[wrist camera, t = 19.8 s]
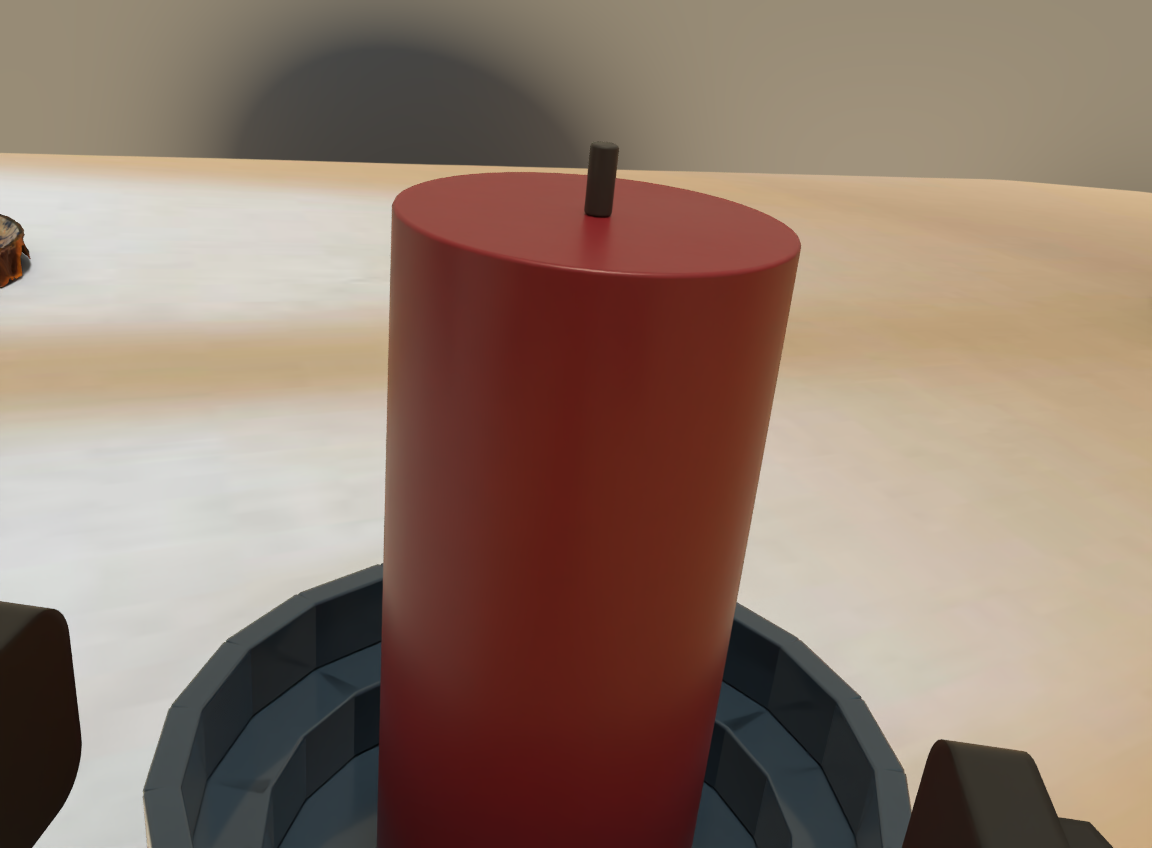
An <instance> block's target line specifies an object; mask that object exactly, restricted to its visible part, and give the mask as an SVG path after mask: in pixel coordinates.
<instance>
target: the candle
mask: <svg viewBox="0 0 1152 848" xmlns="http://www.w3.org/2000/svg"><path fill="white" fill-rule="evenodd" d="M618 152H619V147H618V146H617V145H616V144H614V143H609V142H593V143H592V144H591V146H590V155H589V165H588V175H578V174H562V173H537V172H504V173H482V174H469V175H460V176H452V177H446V178H440V179H436V180H431V181H427V182H423V183H420V184H417V185H414V186H412V187H410V188H408V189H406V190H404V191H402V192H401V193H400V194H399V195H397V196H396V198H395V200H394V202H393V204H392V227H391V268H390V310H389V352H388V393H387V435H386V477H385V518H384V560H383V601H382V643H381V685H380V726H379V768H378V809H377V848H692V843H693V838H694V832H695V827H696V821H697V816H698V810H699V805H700V799H701V794H702V788H703V783H704V777H705V772H706V767H707V761H708V756H709V750H710V745H711V739H712V734H713V728H714V723H715V717H716V712H717V706H718V701H719V695H720V690H721V684H722V679H723V673H724V668H725V662H726V657H727V651H728V646H729V640H730V635H731V629H732V624H733V618H734V613H735V607H736V602H737V596H738V591H739V585H740V580H741V574H742V569H743V563H744V558H745V552H746V547H747V541H748V536H749V530H750V525H751V519H752V514H753V508H754V503H755V497H756V492H757V486H758V481H759V475H760V470H761V464H762V459H763V453H764V448H765V442H766V437H767V431H768V426H769V420H770V415H771V409H772V404H773V398H774V393H775V387H776V382H777V376H778V371H779V365H780V360H781V354H782V349H783V343H784V338H785V332H786V327H787V322H788V316H789V311H790V305H791V300H792V294H793V289H794V283H795V278H796V272H797V267H798V261H799V256H800V249H801V243H800V240H799V238H798V236H797V235H796V233H795V232H794V231H793V230H792V229H791V228H789V227H788V226H786V225H785V224H784V223H782V222H780V221H778V220H777V219H775V218H773V217H771V216H769V215H767V214H765V213H762V212H760V211H758V210H755V209H753V208H750V207H747V206H744V205H742V204H739V203H735V202H732V201H729V200H726V199H722V198H719V197H715V196H711V195H707V194H703V193H699V192H694V191H690V190H686V189H680V188H675V187H670V186H665V185H659V184H653V183H647V182H641V181H633V180H626V179H618V178H616V171H617V162H618Z"/></svg>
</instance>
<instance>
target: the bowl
mask: <svg viewBox="0 0 1152 848" xmlns="http://www.w3.org/2000/svg"><path fill="white" fill-rule="evenodd" d="M382 601H383V563H382V564H381V565H379V564H377V565H374V566H371V567H369V568H366V569H363V570H360V571H358V572H355V573H352V574H349V575H347V576H344V577H341V578H338V579H336V580H333V581H330V582H327V583H325V584H322V585H319V586H316V587H314V588H311V589H308V590H305V591H303V592H300V593H299V594H298V595H294V596H293V597H291V598H290V599H288V600H286V601H285V602H283V603H282V604H280V605H279V606H277V607H276V608H274V609H273V610H271V611H270V612H268V613H267V614H265V615H264V616H262V617H261V618H259V619H257V620H256V621H254V622H253V623H251V624H250V625H248V626H247V627H245V628H244V629H242V630H241V631H239V632H238V633H236V634H235V635H233V636H231V637H230V638H228V639H227V640H226V642H224V643H223V644H222V645H221V646H220V647H219V649H218V650H217V651H216V652H215V653H214V655H213V656H212V657H211V658H210V659H209V661H208V662H207V663H206V664H205V665H204V667H203V668H202V669H201V670H200V671H199V673H198V674H197V675H196V676H195V677H194V679H193V680H192V681H191V682H190V683H189V685H188V686H187V687H186V688H185V689H184V691H183V692H182V693H181V694H180V695H179V697H178V698H177V699H176V700H175V701H174V703H173V704H172V706H171V708H169V710H168V713H167V716H166V719H165V722H164V725H163V729H162V732H161V735H160V738H159V741H158V744H157V748H156V751H155V754H154V757H153V760H152V763H151V767H150V770H149V773H148V776H147V779H146V782H145V786H144V789H143V805H144V816H145V827H146V838H147V848H377V809H378V768H379V726H380V685H381V643H382ZM911 814H912V811H911V804H910V797H909V790H908V784H907V777H906V774H905V773H904V769H903V767H902V765H901V763H900V762H899V760H898V758H897V757H896V755H895V753H894V751H893V750H892V748H891V746H890V745H889V743H888V741H887V739H886V738H885V736H884V734H883V733H882V731H881V729H880V727H879V726H878V724H877V722H876V720H875V719H874V717H873V715H872V714H871V712H870V710H869V708H868V707H867V705H866V703H865V702H864V700H862V699H861V696H860V695H859V694H858V693H857V692H856V691H854V690H853V689H852V688H851V687H850V686H849V685H848V684H847V683H846V682H845V681H844V680H843V679H842V678H841V677H840V676H838V675H837V674H836V673H835V672H834V671H833V670H832V669H831V668H830V667H829V666H828V665H827V664H826V663H825V662H824V661H823V660H821V659H820V658H819V657H818V656H817V655H816V654H815V653H814V652H813V651H812V650H811V649H810V648H809V647H808V646H807V645H805V644H804V643H803V642H802V641H801V640H799V639H798V638H797V637H796V636H794V635H792V634H790V633H789V632H787V631H785V630H784V629H782V628H780V627H778V626H777V625H775V624H773V623H772V622H770V621H768V620H766V619H765V618H763V617H761V616H760V615H758V614H756V613H754V612H753V611H751V610H749V609H748V608H746V607H744V606H742V605H741V604H739V603H737V602H736V607H735V613H734V618H733V624H732V629H731V635H730V640H729V646H728V651H727V657H726V662H725V668H724V673H723V679H722V684H721V690H720V695H719V701H718V706H717V712H716V717H715V723H714V728H713V734H712V739H711V745H710V750H709V756H708V761H707V767H706V772H705V777H704V783H703V788H702V794H701V799H700V805H699V810H698V816H697V821H696V827H695V832H694V838H693V843H692V848H902V845H903V841H904V838H905V834H906V831H907V827H908V824H909V820H910V817H911Z"/></svg>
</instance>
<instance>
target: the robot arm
mask: <svg viewBox="0 0 1152 848" xmlns="http://www.w3.org/2000/svg"><path fill="white" fill-rule="evenodd" d="M81 747H82V741H81V730H80V721H79V713H78V704H77V696H76V687H75V678H74V670H73V661H72V653H71V644H70V636H69V629H68V625H67V622H66V619H65V618H64V616H63V614H61V613H60V612H59V611H58V610H55V609H50V608H43V607H36V606H30V605H23V604H16V603H9V602H2V601H0V848H32V847H33V846H34V845H35V843H36V842H37V841H38V839H39V838H40V837H41V835H42V834H43V833H44V831H45V830H46V829H47V827H48V826H49V825H50V823H51V822H52V821H53V819H54V818H55V817H56V815H57V814H58V813H59V811H60V810H61V808H62V807H63V805H64V803H65V802H66V800H67V798H68V796H69V794H70V791H71V789H72V787H73V784H74V781H75V779H76V775H77V772H78V768H79V763H80V757H81ZM902 848H1113V847H1112V846H1111V845H1110V844H1109V842H1108V841H1107V840H1106V839H1105V838H1104V837H1103V836H1102V835H1101V834H1100V833H1099V832H1098V831H1097V830H1096V828H1095V827H1094V826H1093V825H1092V824H1091V823H1090V822H1086V821H1080V820H1073V819H1066V818H1059V817H1058V816H1057V814H1056V811H1055V809H1054V806H1053V804H1052V802H1051V799H1050V797H1049V794H1048V792H1047V790H1046V787H1045V785H1044V782H1043V780H1042V778H1041V775H1040V773H1039V770H1038V768H1037V766H1036V764H1035V762H1034V760H1033V758H1032V757H1031V756H1030V755H1029V754H1028V753H1027V752H1024V751H1018V750H1011V749H1004V748H997V747H991V746H984V745H977V744H970V743H963V742H956V741H949V740H942V739H941V740H938V741H937V742H935V743H934V745H933V746H932V748H931V750H930V753H929V755H928V758H927V761H926V765H925V768H924V772H923V775H922V779H921V782H920V786H919V789H918V793H917V796H916V800H915V803H914V807H913V810H912V814H911V817H910V820H909V824H908V827H907V831H906V834H905V838H904V841H903V845H902Z"/></svg>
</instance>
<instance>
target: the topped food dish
mask: <svg viewBox="0 0 1152 848" xmlns="http://www.w3.org/2000/svg"><path fill="white" fill-rule="evenodd" d="M23 237H24V229H23V228H22V227H21V225H20V224H19V223H18V222H16V221H15V220H13V219H11V218H10V217H8V216H4V215H1V214H0V287H3V286H5V285H6V284H7V283H8V281H9V279H10V280H13V278H15V279H17V277H20V276H22V268H21V259H20V256H21V254H22V252H23V253H24V254H25V255H26V256H28V257H29V259H31V258H30V256H29V250H28V249H27V248H26V246H25V244H24V241H23Z"/></svg>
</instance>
